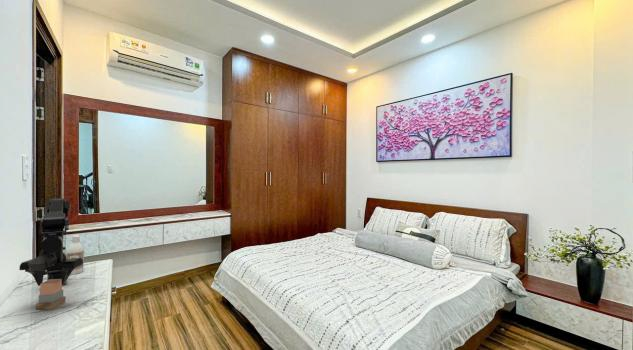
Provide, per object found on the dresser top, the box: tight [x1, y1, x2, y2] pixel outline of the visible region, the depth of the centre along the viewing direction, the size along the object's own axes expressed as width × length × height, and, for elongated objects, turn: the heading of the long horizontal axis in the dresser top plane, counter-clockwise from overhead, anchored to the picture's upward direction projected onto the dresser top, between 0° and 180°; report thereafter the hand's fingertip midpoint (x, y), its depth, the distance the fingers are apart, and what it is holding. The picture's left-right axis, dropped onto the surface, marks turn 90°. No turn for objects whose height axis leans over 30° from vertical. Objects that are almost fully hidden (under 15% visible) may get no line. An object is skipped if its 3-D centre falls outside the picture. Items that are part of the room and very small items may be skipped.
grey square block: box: [37, 289, 64, 303], centre depth 106 cm, size 5×5×3 cm
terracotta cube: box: [39, 279, 63, 295], centre depth 106 cm, size 4×4×4 cm
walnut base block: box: [35, 295, 67, 311], centre depth 105 cm, size 6×6×3 cm
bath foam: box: [66, 234, 85, 276], centre depth 142 cm, size 7×7×20 cm
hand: (51, 285), depth 106 cm, fingers open, 8 cm apart
